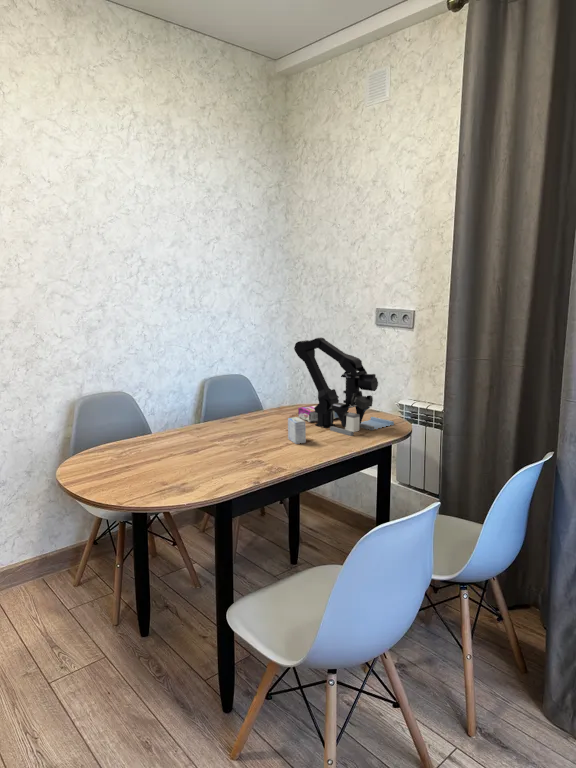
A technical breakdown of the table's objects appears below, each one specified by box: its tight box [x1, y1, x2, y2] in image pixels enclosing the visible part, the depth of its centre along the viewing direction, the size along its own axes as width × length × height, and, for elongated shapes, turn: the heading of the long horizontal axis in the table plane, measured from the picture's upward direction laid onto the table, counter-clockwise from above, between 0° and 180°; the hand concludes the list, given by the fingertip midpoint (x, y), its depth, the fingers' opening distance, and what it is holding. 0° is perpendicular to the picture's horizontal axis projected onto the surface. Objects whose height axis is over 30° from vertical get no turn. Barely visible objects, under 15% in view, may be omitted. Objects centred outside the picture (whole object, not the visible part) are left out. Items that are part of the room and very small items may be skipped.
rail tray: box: [329, 416, 395, 437], centre depth 226 cm, size 27×12×2 cm, turn 130°
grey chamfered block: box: [344, 412, 360, 433], centre depth 222 cm, size 4×5×7 cm
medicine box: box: [287, 416, 307, 445], centre depth 206 cm, size 8×4×9 cm, turn 22°
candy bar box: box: [297, 405, 340, 423], centre depth 243 cm, size 11×5×16 cm
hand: (352, 425), depth 222 cm, fingers open, 9 cm apart
